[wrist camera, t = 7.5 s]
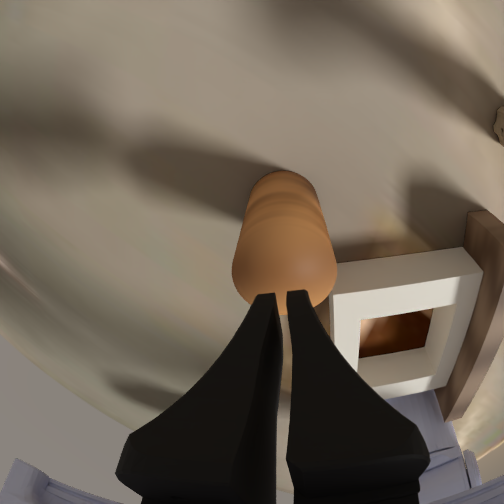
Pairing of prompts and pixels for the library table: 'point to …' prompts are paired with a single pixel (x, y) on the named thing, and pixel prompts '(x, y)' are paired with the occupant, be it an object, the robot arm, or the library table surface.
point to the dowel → (284, 242)
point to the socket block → (404, 301)
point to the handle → (500, 125)
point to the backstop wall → (478, 316)
